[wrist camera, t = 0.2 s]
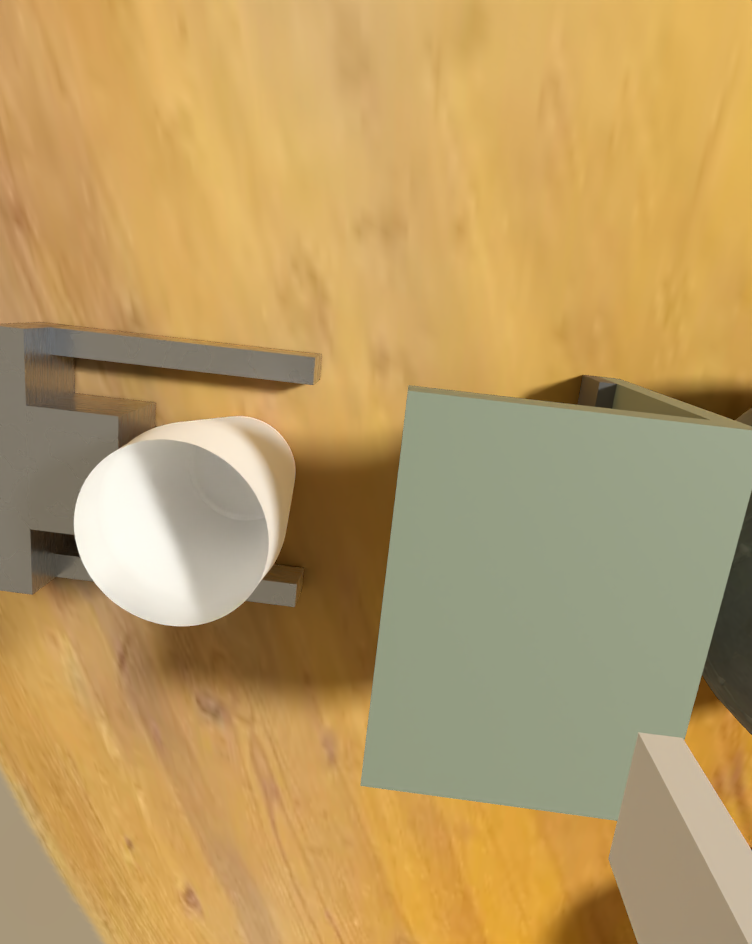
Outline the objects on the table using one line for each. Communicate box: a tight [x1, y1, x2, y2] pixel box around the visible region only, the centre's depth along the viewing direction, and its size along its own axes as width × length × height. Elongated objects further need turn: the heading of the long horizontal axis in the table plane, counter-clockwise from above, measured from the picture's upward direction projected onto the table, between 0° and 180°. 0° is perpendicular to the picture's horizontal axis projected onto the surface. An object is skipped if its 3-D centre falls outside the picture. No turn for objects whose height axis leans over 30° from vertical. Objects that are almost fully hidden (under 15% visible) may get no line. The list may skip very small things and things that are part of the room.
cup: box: [74, 416, 296, 626], centre depth 34 cm, size 9×9×12 cm
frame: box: [0, 322, 322, 607], centre depth 37 cm, size 15×17×5 cm
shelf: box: [361, 375, 752, 821], centre depth 31 cm, size 16×12×16 cm
